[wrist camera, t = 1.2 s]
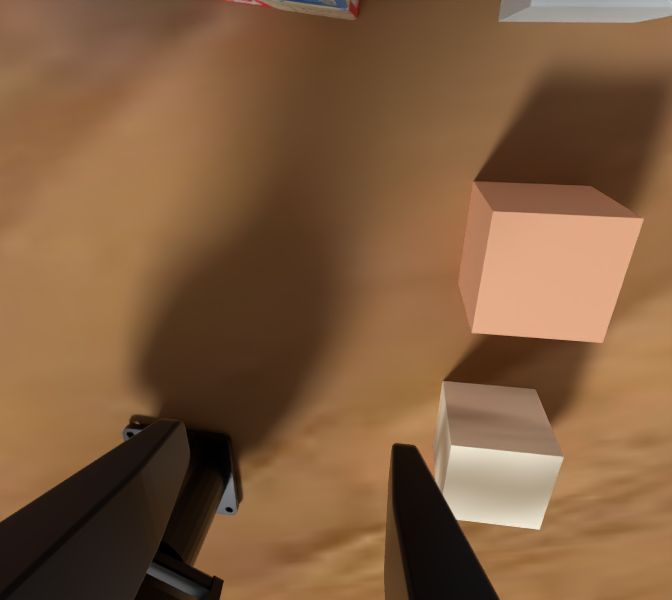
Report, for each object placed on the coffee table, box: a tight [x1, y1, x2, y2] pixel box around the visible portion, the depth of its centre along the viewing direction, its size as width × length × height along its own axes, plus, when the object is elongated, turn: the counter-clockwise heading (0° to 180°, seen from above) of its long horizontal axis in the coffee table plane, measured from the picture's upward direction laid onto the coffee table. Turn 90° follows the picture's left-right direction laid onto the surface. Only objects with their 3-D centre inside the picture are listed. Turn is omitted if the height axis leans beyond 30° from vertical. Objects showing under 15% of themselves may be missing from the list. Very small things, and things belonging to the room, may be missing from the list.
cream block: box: [433, 381, 564, 529], centre depth 22 cm, size 4×4×4 cm
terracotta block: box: [458, 181, 644, 343], centre depth 17 cm, size 4×4×4 cm
